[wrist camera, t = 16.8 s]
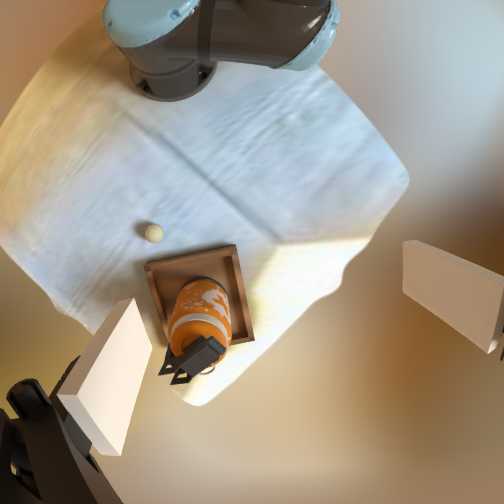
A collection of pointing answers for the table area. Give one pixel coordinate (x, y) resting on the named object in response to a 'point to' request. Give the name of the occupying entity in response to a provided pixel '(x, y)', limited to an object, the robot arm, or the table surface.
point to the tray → (201, 265)
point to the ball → (154, 233)
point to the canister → (198, 329)
